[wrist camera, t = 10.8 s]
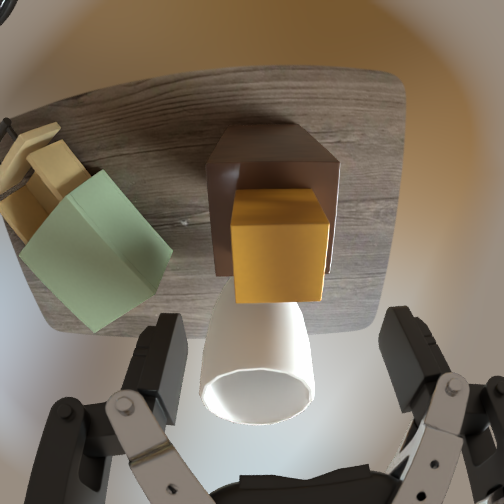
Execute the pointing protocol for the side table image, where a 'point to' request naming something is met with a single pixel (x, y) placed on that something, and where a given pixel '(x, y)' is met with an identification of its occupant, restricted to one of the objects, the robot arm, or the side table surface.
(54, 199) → the drawer
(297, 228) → the block
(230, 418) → the cup
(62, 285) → the cabinet
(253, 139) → the stand
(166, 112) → the side table surface
